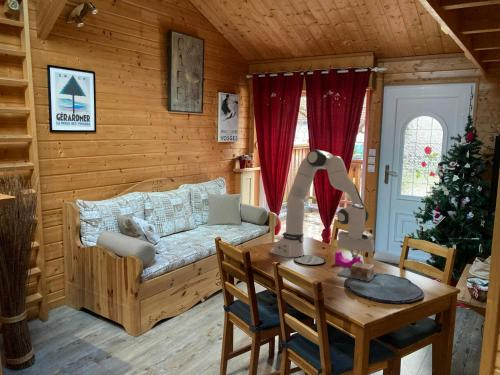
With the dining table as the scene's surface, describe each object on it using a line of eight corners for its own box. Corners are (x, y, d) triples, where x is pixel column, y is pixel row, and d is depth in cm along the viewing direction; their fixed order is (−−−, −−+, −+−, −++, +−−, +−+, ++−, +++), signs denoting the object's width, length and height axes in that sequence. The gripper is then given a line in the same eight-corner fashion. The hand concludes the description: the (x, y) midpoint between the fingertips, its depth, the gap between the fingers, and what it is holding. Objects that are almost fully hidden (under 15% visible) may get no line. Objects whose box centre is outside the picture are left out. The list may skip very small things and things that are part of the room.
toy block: (362, 268, 243) (362, 255, 243) (356, 270, 239) (357, 257, 238) (340, 262, 254) (340, 250, 253) (334, 264, 250) (335, 252, 249)
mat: (337, 275, 229) (337, 273, 229) (347, 268, 242) (347, 266, 242) (369, 282, 219) (369, 280, 219) (377, 274, 232) (377, 272, 232)
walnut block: (351, 265, 228) (369, 269, 222) (356, 261, 235) (374, 264, 230) (350, 274, 228) (368, 278, 223) (356, 270, 236) (373, 273, 230)
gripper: (336, 231, 232) (335, 255, 233) (372, 237, 221) (370, 262, 222) (340, 229, 237) (339, 253, 239) (376, 235, 226) (374, 259, 228)
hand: (354, 257), depth 230 cm, fingers closed
